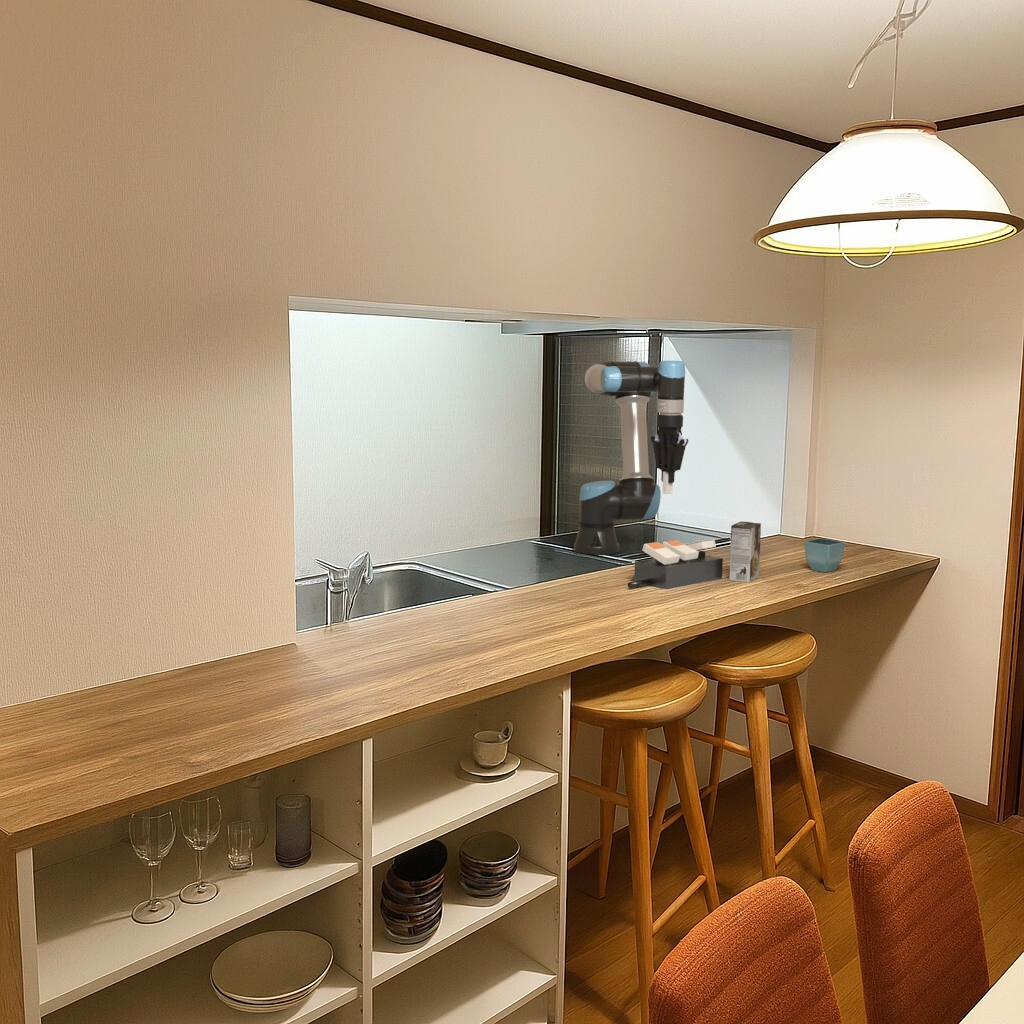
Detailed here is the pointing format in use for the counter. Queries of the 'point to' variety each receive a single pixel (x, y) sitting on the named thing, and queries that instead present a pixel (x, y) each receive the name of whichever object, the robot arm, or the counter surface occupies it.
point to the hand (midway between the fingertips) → (667, 493)
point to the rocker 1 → (661, 553)
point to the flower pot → (824, 554)
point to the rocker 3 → (702, 545)
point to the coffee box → (745, 551)
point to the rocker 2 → (681, 550)
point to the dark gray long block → (677, 572)
